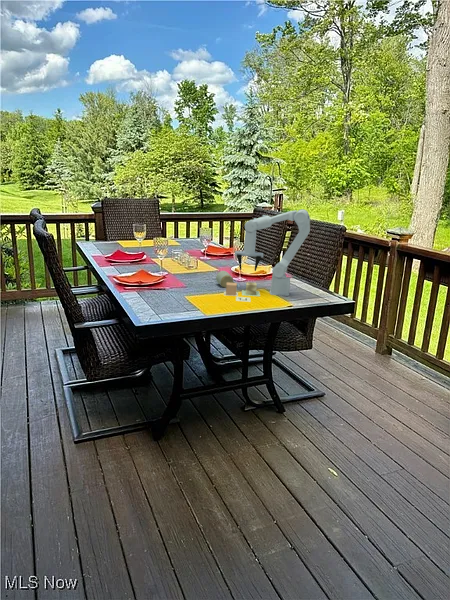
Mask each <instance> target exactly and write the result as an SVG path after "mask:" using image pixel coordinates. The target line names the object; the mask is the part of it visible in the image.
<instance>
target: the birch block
mask: <svg viewBox="0 0 450 600" xmlns="http://www.w3.org/2000/svg"><path fill="white" fill-rule="evenodd" d="M257 286H258V285H257V282H250V281H247V282H246V284H245V290H246V294H248V295H256V291H257Z"/></svg>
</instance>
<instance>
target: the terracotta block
mask: <svg viewBox="0 0 450 600" xmlns="http://www.w3.org/2000/svg"><path fill="white" fill-rule="evenodd" d="M237 286H238V283H237V282H235V283H229V282H227V286H226V288H225V291H226V295H225V296H227V295H236V292H237V289H238V288H237Z"/></svg>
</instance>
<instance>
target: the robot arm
mask: <svg viewBox="0 0 450 600" xmlns="http://www.w3.org/2000/svg"><path fill="white" fill-rule="evenodd" d="M286 220H288V221H291V222H293V221H294V222H295V224H296V225H297V228H298V233H297V235H296V236H295V237H294V239H293V241H292V242H291V243H290V245H289V247H288V249H287V250H286V251H285V253H284V255H283V256H282V257H281V259H280V261H279V262H277V263H276V264H275V266H274V267H273V268H272V270H271V271H272V272H271V273H272V274H271V275H272V276H271V285H270V286H271V287H270V289H269V291H268V292H269V294H270V295H271V296H275V295H276V296H282V297H285V296H286V297H289V296H290V291H291V290H290V288H291V277H287V275H286V273H287V270H288V266H289V265H290V263H291V261H292V260H293V258H294V257H295V256H296V254H297V252H298V251H299V249H300V248H301V246H302V244H303V243H304V242H305V240H306V238H308V235H309V234H310V231H311V217H310V213H309V212H308V210H307V209H298V210H296V209H295V210H289V211H286V212H283V213H280V214H277V215H274V216H270V215H266V214H263V215H262V216H261V217H258V218H257V217H254V218H253V219H250V220H247V221H246V222H245V223H244V229H245V230H244V231H245V232H244V233H245V234H244V244H243V245H244V246H243V251H241V250H240V251H237V250H236V251H234V256H236V258H237V261H238V265H239V270H240V271H242V260H243V259H242V258H243V257H253V258H254V257H255V262H254V263H255V264H254V271H255V272H256V271H257V269H258V266H259V263H260V262H261V260H262V258H264V253H263V252H257V251H256V245H257V244H256V242H257V231H259V230H264V229H267V228H271V227H272V225H273V224H274V223H275V224H276V223H279V222H283V221H286Z"/></svg>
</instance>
